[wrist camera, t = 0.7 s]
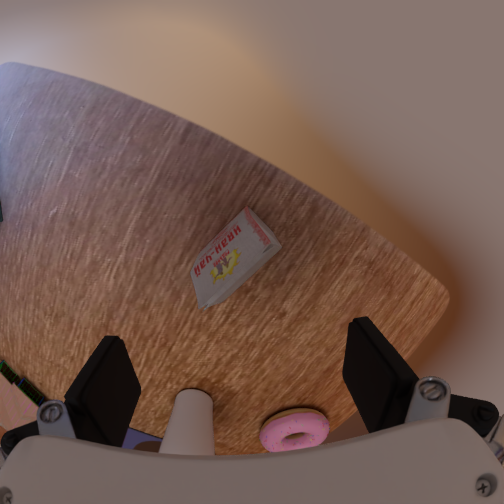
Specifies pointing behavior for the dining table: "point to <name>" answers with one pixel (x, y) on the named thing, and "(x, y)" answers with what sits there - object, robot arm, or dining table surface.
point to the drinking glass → (190, 425)
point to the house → (15, 404)
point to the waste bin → (0, 214)
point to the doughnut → (294, 430)
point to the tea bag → (232, 257)
